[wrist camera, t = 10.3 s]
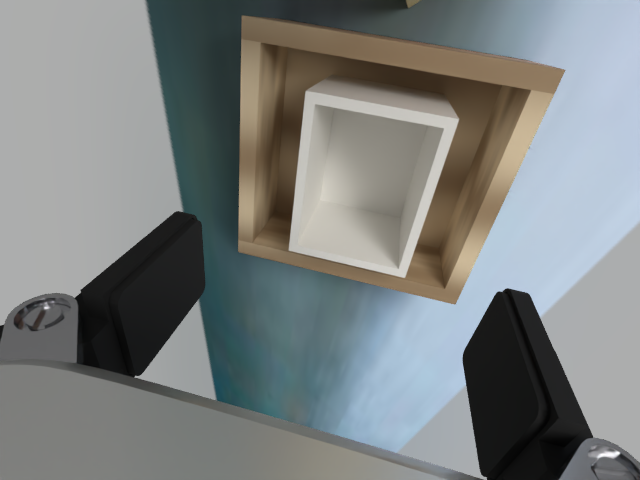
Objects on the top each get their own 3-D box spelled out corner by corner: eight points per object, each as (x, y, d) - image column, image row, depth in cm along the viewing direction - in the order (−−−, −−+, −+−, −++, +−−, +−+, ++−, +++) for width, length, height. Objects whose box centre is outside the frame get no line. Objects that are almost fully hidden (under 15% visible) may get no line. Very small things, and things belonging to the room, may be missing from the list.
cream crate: (332, 74, 22) (305, 90, 16) (444, 94, 21) (459, 119, 15) (314, 202, 27) (288, 250, 21) (405, 222, 26) (405, 278, 20)
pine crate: (279, 18, 22) (241, 15, 17) (525, 60, 20) (565, 70, 15) (266, 213, 29) (238, 252, 24) (446, 254, 28) (455, 304, 23)
